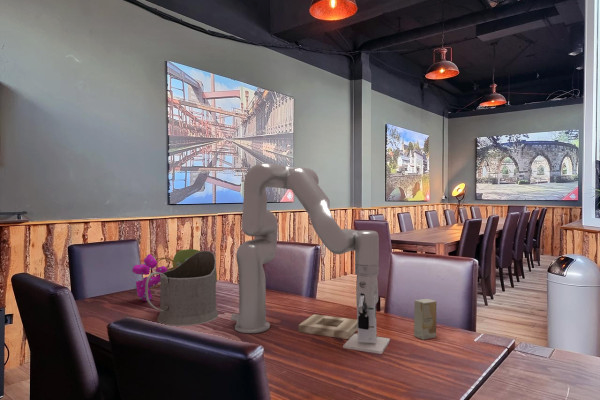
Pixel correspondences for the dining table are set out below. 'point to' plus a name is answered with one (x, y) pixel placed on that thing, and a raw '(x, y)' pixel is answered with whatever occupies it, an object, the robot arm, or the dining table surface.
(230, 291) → the dining table surface
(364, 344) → the plate
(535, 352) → the dining table surface
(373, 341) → the syrup box
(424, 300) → the skincare box
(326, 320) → the frame
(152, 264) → the purple flowering plant
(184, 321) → the pitcher
